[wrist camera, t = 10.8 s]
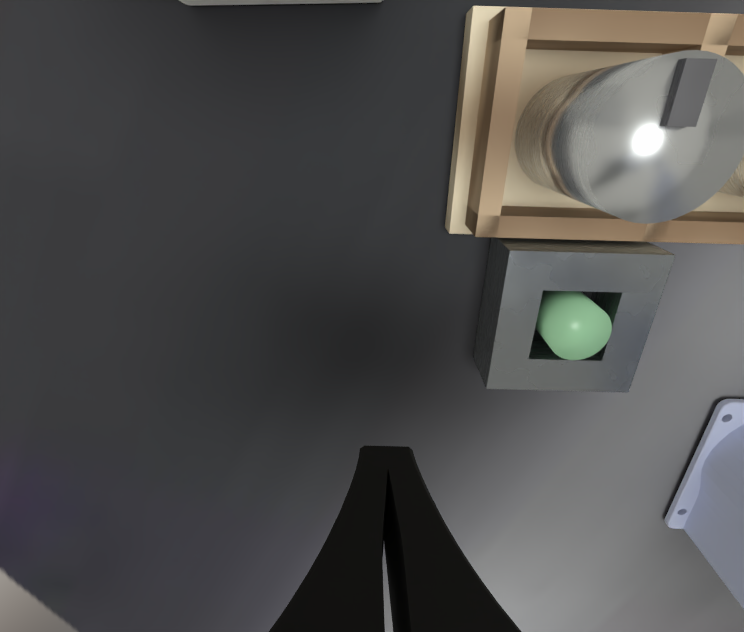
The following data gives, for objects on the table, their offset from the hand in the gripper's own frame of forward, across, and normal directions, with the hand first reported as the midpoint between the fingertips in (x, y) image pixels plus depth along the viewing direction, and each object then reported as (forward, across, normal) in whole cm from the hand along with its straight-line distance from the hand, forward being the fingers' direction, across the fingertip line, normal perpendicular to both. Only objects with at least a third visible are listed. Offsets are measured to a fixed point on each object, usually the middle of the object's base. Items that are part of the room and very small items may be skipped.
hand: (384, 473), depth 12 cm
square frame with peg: (+10, -8, -1) cm, 13 cm away
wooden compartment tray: (+10, -10, -8) cm, 16 cm away
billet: (+9, -7, -8) cm, 14 cm away
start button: (+9, -8, -1) cm, 12 cm away
